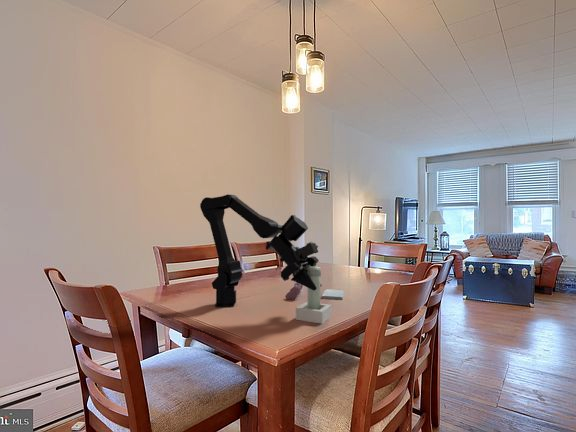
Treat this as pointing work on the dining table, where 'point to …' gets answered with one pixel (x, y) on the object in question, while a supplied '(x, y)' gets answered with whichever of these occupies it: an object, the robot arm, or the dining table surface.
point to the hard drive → (333, 294)
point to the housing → (314, 313)
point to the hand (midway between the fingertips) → (318, 288)
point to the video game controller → (294, 291)
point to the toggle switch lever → (313, 295)
